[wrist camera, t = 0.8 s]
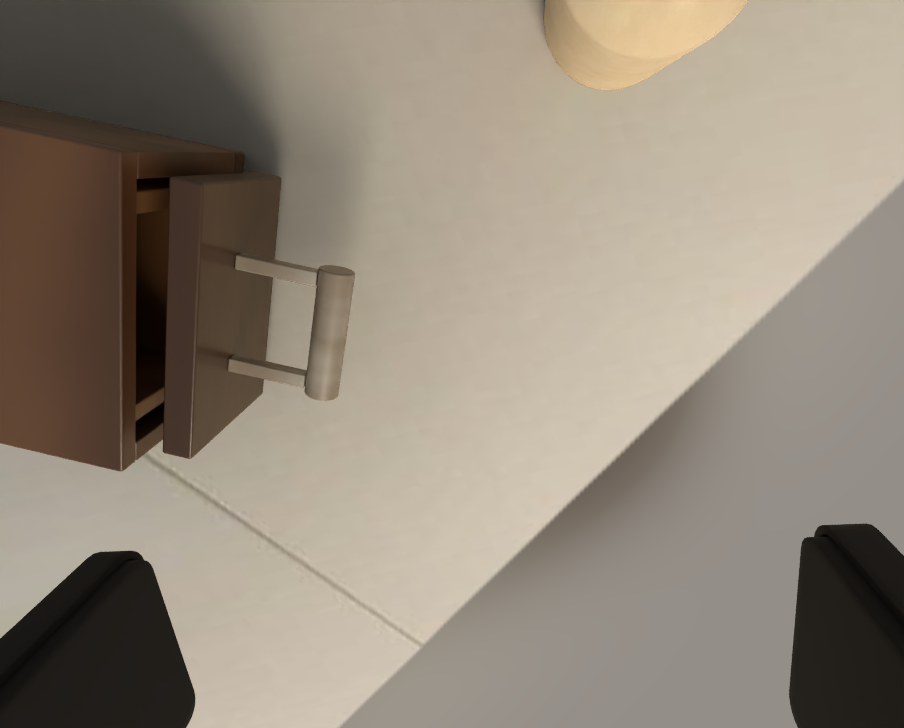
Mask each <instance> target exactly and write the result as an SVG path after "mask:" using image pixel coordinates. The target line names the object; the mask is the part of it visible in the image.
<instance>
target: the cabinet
mask: <svg viewBox="0 0 904 728" xmlns="http://www.w3.org/2000/svg"><path fill="white" fill-rule="evenodd" d="M243 160H244V153H242V152H238V151H233V150H229V149H224V148H219V147H214V146H210V145H205V144H200V143H196V142H191V141H186V140H182V139H177V138H172V137H167V136H163V135H158V134H153V133H149V132H144V131H139V130H135V129H130V128H125V127H120V126H116V125H111V124H106V123H102V122H97V121H92V120H88V119H83V118H78V117H74V116H69V115H64V114H59V113H55V112H50V111H45V110H41V109H36V108H31V107H27V106H22V105H17V104H12V103H8V102H3V101H0V443H1V444H5V445H10V446H14V447H18V448H22V449H27V450H31V451H35V452H40V453H44V454H48V455H52V456H57V457H61V458H65V459H69V460H74V461H78V462H82V463H86V464H91V465H95V466H99V467H103V468H108V469H112V470H116V471H123V470H125V469H126V468H127V467H129V466H130V465H131V464H132V463H134V462H135V460H137V459H139V458H140V457H141V456H143V455H144V454H145V453H146V452H148V451H149V450H150V449H151V448H153V447H154V446H155V445H156V444H158V443H159V442H160V441H161V440H163V423H164V402H163V403H161V404H160V405H158V406H157V407H155V408H154V409H153V410H151V411H150V412H148V413H147V414H145V415H144V416H142V417H141V418H139V419H138V420H137V421H136V239H137V179H144V178H162V177H175V176H193V175H211V174H230V173H243Z"/></svg>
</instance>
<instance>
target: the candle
mask: <svg viewBox="0 0 904 728" xmlns="http://www.w3.org/2000/svg"><path fill="white" fill-rule="evenodd" d="M748 1H749V0H545V10H544V28H545V35H546V39H547V43H548V46H549V48H550V51H551V53H552V55H553V57H554V59H555V60H556V62H557V63H558V65H559V66H560V67H561V69H562V70H563V71H564V72H565V73H566V74H567V75H568V76H570V77H571V78H572V79H574V80H575V81H577V82H579V83H581V84H583V85H585V86H588V87H591V88H595V89H601V90H614V89H621V88H625V87H629V86H631V85H634V84H637V83H639V82H641V81H643V80H644V79H646V78H648V77H650V76H652V75H653V74H655V73H656V72H658V71H660V70H661V69H663V68H664V67H666V66H668V65H669V64H671V63H673V62H674V61H676V60H677V59H679V58H681V57H682V56H684V55H685V54H687V53H689V52H690V51H692V50H693V49H695V48H697V47H698V46H700V45H702V44H703V43H705V42H706V41H708V40H709V39H711V38H712V37H713V36H715V35H716V34H718V33H719V32H720V31H721V30H722V29H724V28H725V27H726V26H727V25H728V24H729V23H730V22H731V21H732V20H733V19H734V18H735V17H736V16H737V15H738V14H739V12H740V11H741V10H742V9H743V7H744V6H745V5H746V3H747V2H748Z"/></svg>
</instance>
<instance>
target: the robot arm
mask: <svg viewBox="0 0 904 728" xmlns="http://www.w3.org/2000/svg"><path fill="white" fill-rule="evenodd" d="M789 698H790V705H791V709H792V713H793V716H794V719H795V722H796V724H797V726H798V728H904V556H903V555H902V554H901V553H900V552H899V551H898V550H897V548H895V546H894V545H893V544H892V543H891V542H890V541H889V540H888V539H887V538H886V537H885V536H884V535H883V534H882V533H881V532H880V531H879V530H878V529H877V528H875V527H874V526H872V525H869V524H843V525H822V526H819V527H818V528H817V530H816V532H815V536H814V537H807V538H805V539H804V540H803V542H802V546H801V556H800V568H799V580H798V592H797V604H796V617H795V629H794V641H793V653H792V665H791V677H790V689H789ZM194 707H195V693H194V689H193V686H192V683H191V680H190V677H189V674H188V671H187V668H186V666H185V663H184V660H183V657H182V654H181V651H180V648H179V645H178V642H177V639H176V636H175V633H174V630H173V627H172V624H171V621H170V618H169V615H168V612H167V609H166V606H165V603H164V600H163V597H162V594H161V591H160V588H159V585H158V582H157V579H156V576H155V573H154V570H153V568H152V566H151V564H150V563H149V562H148V561H144V559H143V557H142V556H141V555H140V554H139V553H138V552H135V551H114V552H99V553H95V554H93V555H91V556H90V557H88V558H87V559H86V560H85V561H84V562H83V563H82V564H81V565H80V566H79V567H77V568H76V569H75V570H74V571H73V572H72V573H71V574H70V575H69V576H68V577H67V578H66V579H65V580H63V581H62V582H61V583H60V584H59V585H58V586H57V587H56V588H55V589H54V590H53V591H52V592H50V593H49V594H48V595H47V596H46V597H45V598H44V599H43V600H42V601H41V602H40V603H39V604H37V605H36V606H35V607H34V608H33V609H32V610H31V611H30V612H29V613H28V614H27V615H26V616H24V617H23V618H22V619H21V620H20V621H19V622H18V623H17V624H16V625H15V626H14V627H13V628H11V629H10V630H9V631H8V632H7V633H6V634H5V635H4V636H3V637H2V638H1V639H0V728H186V727H187V725H188V723H189V721H190V719H191V717H192V714H193V711H194Z"/></svg>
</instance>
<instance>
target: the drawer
mask: <svg viewBox="0 0 904 728" xmlns="http://www.w3.org/2000/svg"><path fill="white" fill-rule="evenodd" d="M280 190H281V177H279V176H274V175H269V174H265V173H260V172H248V173H230V174H211V175H193V176H175V177H162V178H144V179H137V239H136V421H137V420H138V419H139V418H141V417H142V416H144V415H145V414H147V413H148V412H150V411H151V410H153V409H154V408H155V407H157V406H158V405H160V404H161V403H163V402H164V423H163V452H164V453H166V454H171V455H175V456H179V457H184V458H188V459H191V458H192V457H194V456H195V455H196V454H197V453H198V452H199V451H200V450H201V449H202V448H203V447H204V446H206V445H207V444H208V443H209V442H210V441H211V440H212V439H213V438H214V437H215V436H216V435H218V434H219V433H220V432H221V431H222V430H223V429H224V428H225V427H226V426H227V425H228V424H229V423H231V422H232V421H233V420H234V419H235V418H236V417H237V416H238V415H239V414H240V413H241V412H243V411H244V410H245V409H246V408H247V407H248V406H249V405H250V404H251V403H252V402H253V401H255V400H256V399H257V398H258V397H259V396H260V395H261V394H262V393H263V381H264V379H266V380H270V381H274V382H279V383H283V384H288V385H292V386H296V387H301V388H304V387H305V394H306V395H307V396H308V397H310V398H312V399H316V400H322V401H328V400H333V399H335V398H336V397H337V396H338V393H339V386H340V379H341V371H342V364H343V357H344V350H345V343H346V335H347V328H348V321H349V314H350V307H351V299H352V292H353V285H354V278H355V273H354V271H352V270H350V269H348V268H344V267H340V266H332V265H325V266H321V267H320V268H319V269H315V268H310V267H306V266H301V265H297V264H292V263H288V262H283V261H279V260H274V257H275V246H276V235H277V223H278V212H279V201H280ZM273 277H274V278H278V279H283V280H287V281H292V282H296V283H301V284H305V285H310V286H316V285H317V289H316V297H315V306H314V315H313V323H312V332H311V340H310V349H309V358H308V366H307V370H302V369H298V368H293V367H289V366H284V365H280V364H275V363H271V362H267V361H265V359H266V347H267V336H268V325H269V314H270V302H271V291H272V280H273Z"/></svg>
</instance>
